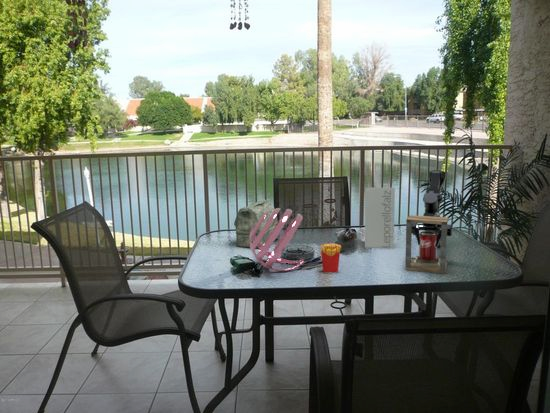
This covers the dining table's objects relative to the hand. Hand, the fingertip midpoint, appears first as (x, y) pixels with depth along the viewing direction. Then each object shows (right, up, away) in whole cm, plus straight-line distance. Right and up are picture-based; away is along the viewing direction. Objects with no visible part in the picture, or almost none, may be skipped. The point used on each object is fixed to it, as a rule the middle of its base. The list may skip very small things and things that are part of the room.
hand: (427, 245), depth 198 cm
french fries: (-42, -11, -2) cm, 44 cm away
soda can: (+1, -6, +2) cm, 7 cm away
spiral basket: (-66, -10, +6) cm, 67 cm away
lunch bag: (-76, -3, +49) cm, 91 cm away
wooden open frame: (0, -9, 0) cm, 9 cm away
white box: (-13, -4, +34) cm, 36 cm away
